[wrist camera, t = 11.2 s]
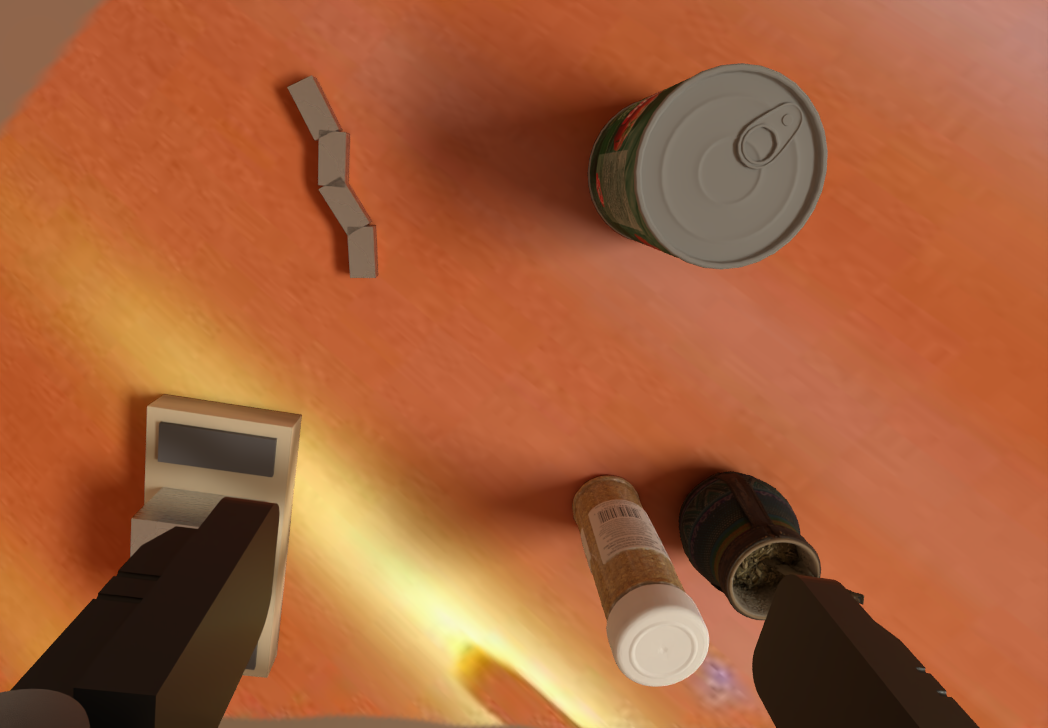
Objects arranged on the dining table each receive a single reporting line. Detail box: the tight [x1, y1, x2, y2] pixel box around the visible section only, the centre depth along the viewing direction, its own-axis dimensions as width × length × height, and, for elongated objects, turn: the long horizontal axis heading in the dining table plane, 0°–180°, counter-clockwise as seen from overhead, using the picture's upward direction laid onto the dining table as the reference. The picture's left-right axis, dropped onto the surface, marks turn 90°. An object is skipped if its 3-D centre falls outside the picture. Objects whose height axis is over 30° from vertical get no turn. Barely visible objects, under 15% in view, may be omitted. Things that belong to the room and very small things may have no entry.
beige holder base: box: [144, 394, 302, 678], centre depth 36 cm, size 18×8×8 cm, turn 169°
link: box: [130, 487, 268, 557], centre depth 36 cm, size 8×6×4 cm
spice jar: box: [572, 475, 709, 686], centre depth 35 cm, size 5×5×13 cm
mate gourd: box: [679, 471, 864, 620], centre depth 37 cm, size 7×8×10 cm
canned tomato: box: [588, 63, 827, 269], centre depth 30 cm, size 8×8×11 cm
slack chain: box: [287, 75, 378, 278], centre depth 34 cm, size 11×2×1 cm, turn 12°
